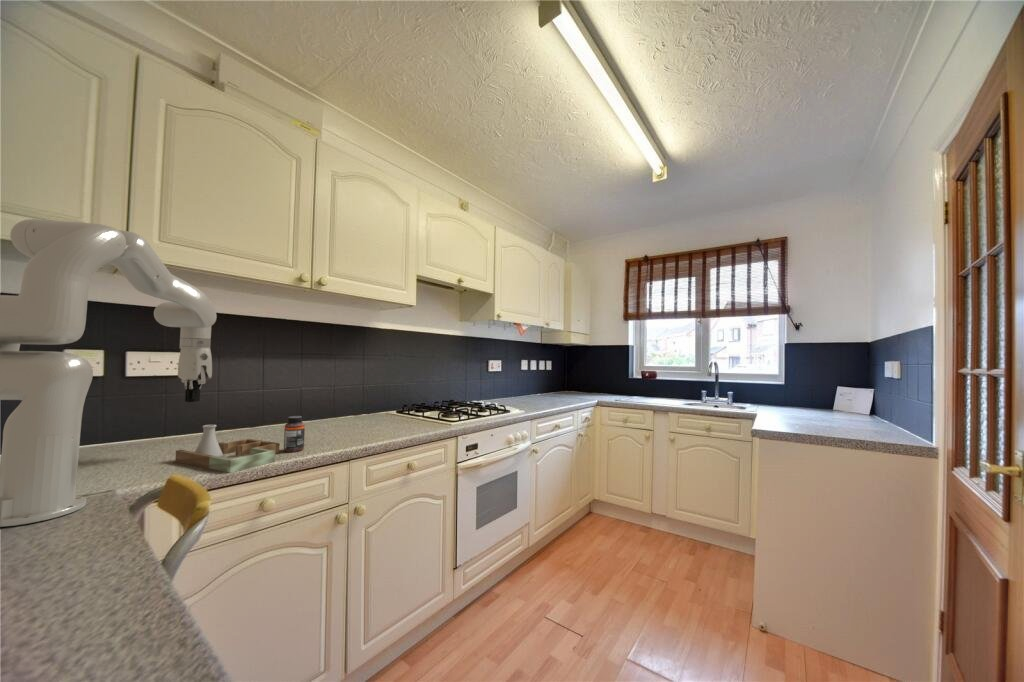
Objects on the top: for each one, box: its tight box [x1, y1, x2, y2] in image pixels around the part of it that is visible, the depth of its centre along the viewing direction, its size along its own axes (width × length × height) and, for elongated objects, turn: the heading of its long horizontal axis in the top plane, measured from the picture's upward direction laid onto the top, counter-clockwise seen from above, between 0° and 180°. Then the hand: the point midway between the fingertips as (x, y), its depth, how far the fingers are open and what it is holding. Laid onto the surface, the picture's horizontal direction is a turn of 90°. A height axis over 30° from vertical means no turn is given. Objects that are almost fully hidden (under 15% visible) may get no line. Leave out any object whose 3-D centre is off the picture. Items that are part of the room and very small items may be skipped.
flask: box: [194, 424, 224, 457], centre depth 114 cm, size 7×7×10 cm
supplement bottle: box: [283, 415, 306, 453], centre depth 125 cm, size 6×6×11 cm
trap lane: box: [174, 438, 280, 474], centre depth 113 cm, size 20×25×3 cm
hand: (192, 401), depth 118 cm, fingers closed
